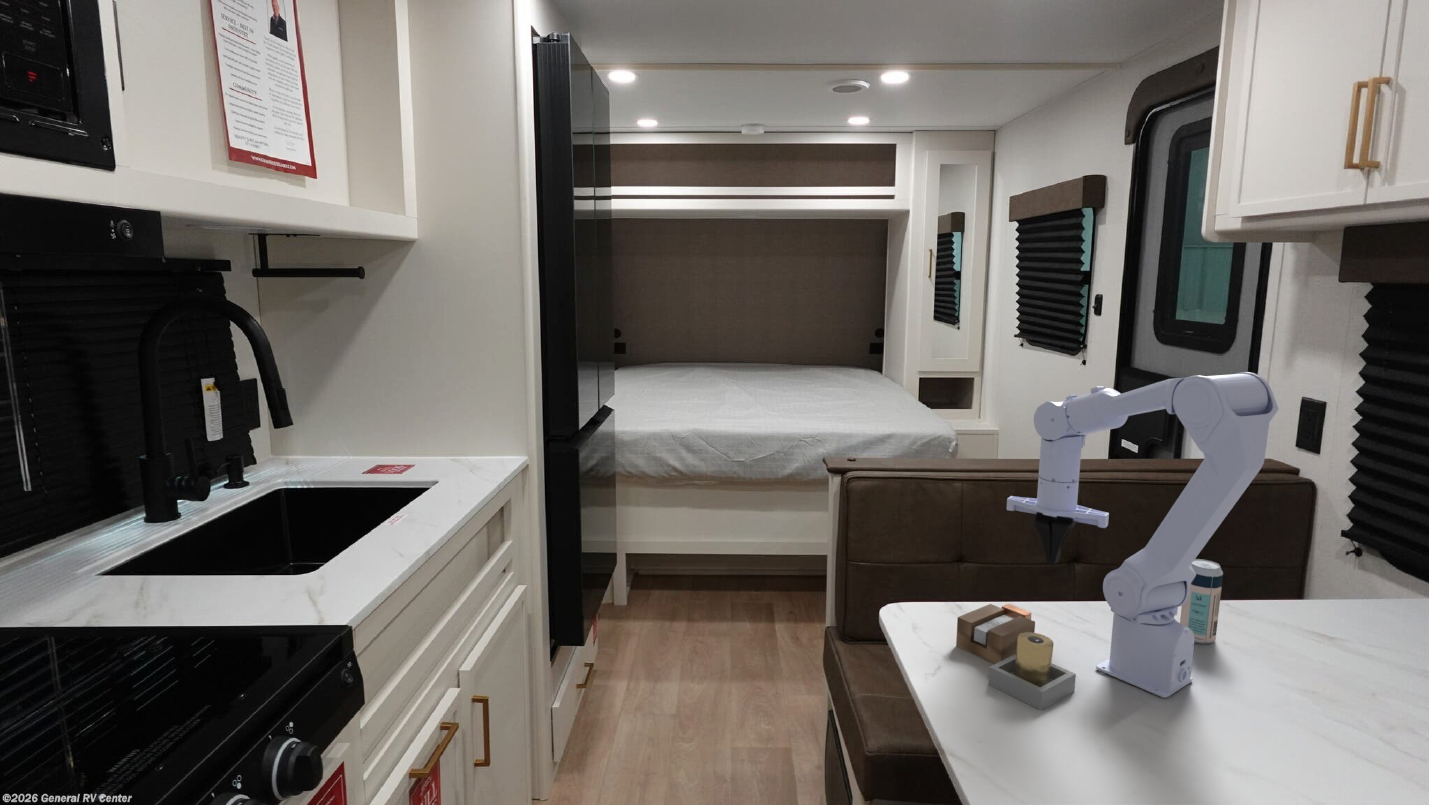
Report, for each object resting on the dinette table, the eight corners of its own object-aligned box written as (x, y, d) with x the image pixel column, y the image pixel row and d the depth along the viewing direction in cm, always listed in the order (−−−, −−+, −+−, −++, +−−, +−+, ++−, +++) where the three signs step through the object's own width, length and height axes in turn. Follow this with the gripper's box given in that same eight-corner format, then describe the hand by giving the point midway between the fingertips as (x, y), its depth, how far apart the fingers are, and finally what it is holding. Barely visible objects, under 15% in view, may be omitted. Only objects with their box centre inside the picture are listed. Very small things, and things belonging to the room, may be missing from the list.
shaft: (1030, 635, 115) (1031, 612, 114) (991, 653, 110) (992, 630, 109) (1006, 625, 118) (1008, 603, 118) (967, 642, 113) (969, 619, 112)
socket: (1074, 691, 102) (1075, 673, 101) (1040, 710, 97) (1042, 692, 97) (1021, 667, 108) (1022, 650, 108) (988, 683, 104) (989, 666, 103)
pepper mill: (1053, 681, 103) (1058, 639, 102) (1042, 694, 100) (1047, 651, 99) (1019, 669, 106) (1024, 629, 105) (1008, 681, 102) (1013, 639, 101)
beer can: (1205, 631, 119) (1213, 558, 117) (1222, 646, 114) (1230, 570, 112) (1172, 630, 119) (1180, 557, 117) (1188, 645, 114) (1196, 569, 112)
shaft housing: (1033, 650, 113) (1035, 621, 112) (1000, 666, 108) (1002, 636, 107) (988, 631, 119) (990, 603, 118) (956, 645, 114) (957, 617, 114)
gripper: (1002, 475, 119) (997, 558, 121) (1103, 491, 110) (1096, 581, 112) (1016, 466, 124) (1011, 546, 127) (1114, 481, 115) (1107, 566, 118)
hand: (1052, 561), depth 120 cm, fingers closed
